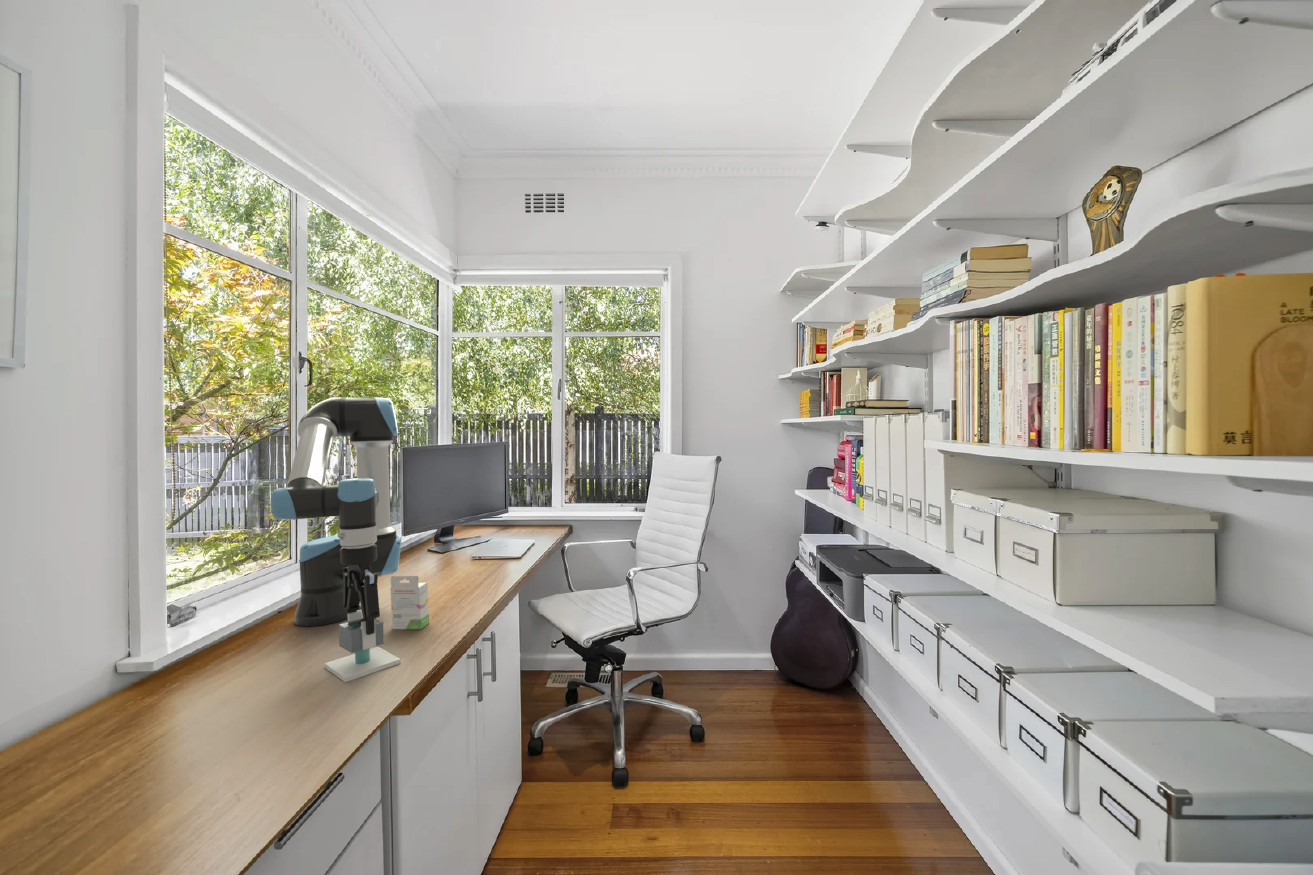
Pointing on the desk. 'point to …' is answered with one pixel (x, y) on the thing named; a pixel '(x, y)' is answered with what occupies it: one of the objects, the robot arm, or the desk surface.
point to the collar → (357, 635)
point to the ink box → (409, 603)
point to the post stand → (362, 663)
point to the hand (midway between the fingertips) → (362, 643)
